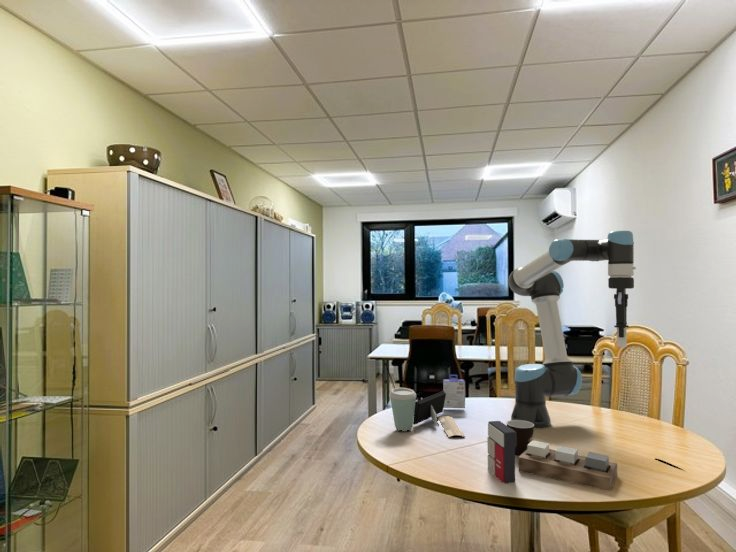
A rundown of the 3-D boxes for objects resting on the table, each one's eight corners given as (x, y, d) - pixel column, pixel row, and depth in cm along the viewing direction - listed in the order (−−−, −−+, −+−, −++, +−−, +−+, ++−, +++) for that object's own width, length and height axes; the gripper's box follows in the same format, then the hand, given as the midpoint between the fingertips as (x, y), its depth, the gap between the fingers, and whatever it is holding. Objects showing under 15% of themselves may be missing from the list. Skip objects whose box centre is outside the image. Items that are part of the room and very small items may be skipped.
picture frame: (442, 412, 197) (420, 406, 200) (446, 391, 197) (424, 385, 199) (435, 431, 177) (411, 424, 180) (440, 407, 176) (415, 400, 179)
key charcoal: (585, 475, 125) (585, 457, 125) (589, 469, 129) (589, 451, 129) (605, 479, 122) (605, 461, 122) (609, 473, 126) (608, 455, 126)
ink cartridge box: (464, 405, 207) (464, 374, 208) (465, 409, 202) (465, 376, 202) (443, 405, 209) (442, 373, 209) (443, 408, 203) (443, 376, 203)
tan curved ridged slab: (465, 439, 164) (465, 434, 164) (445, 440, 164) (445, 435, 164) (452, 420, 188) (452, 416, 188) (435, 420, 188) (435, 416, 188)
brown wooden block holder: (518, 474, 132) (518, 457, 133) (531, 461, 142) (531, 445, 142) (610, 496, 118) (609, 477, 118) (617, 480, 128) (617, 463, 128)
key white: (527, 461, 134) (527, 444, 135) (532, 456, 138) (532, 440, 138) (544, 465, 131) (544, 448, 131) (549, 460, 135) (549, 443, 135)
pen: (691, 480, 128) (691, 475, 128) (650, 462, 142) (650, 456, 142) (696, 480, 128) (696, 474, 128) (655, 461, 142) (654, 456, 142)
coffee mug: (521, 461, 142) (520, 429, 142) (501, 452, 150) (500, 422, 150) (546, 454, 147) (546, 424, 147) (526, 446, 155) (526, 417, 155)
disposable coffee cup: (422, 428, 175) (422, 389, 176) (406, 435, 167) (406, 394, 167) (400, 422, 182) (400, 385, 182) (383, 429, 174) (383, 390, 174)
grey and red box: (486, 471, 135) (485, 421, 135) (499, 470, 135) (499, 420, 136) (502, 487, 124) (502, 433, 124) (517, 486, 124) (516, 432, 125)
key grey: (555, 468, 130) (555, 450, 130) (560, 462, 134) (559, 445, 134) (574, 472, 127) (573, 454, 127) (578, 466, 131) (578, 449, 131)
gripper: (632, 276, 144) (633, 350, 144) (635, 276, 155) (636, 345, 154) (606, 276, 148) (606, 348, 148) (610, 277, 159) (611, 343, 159)
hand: (621, 346), depth 151 cm, fingers closed
